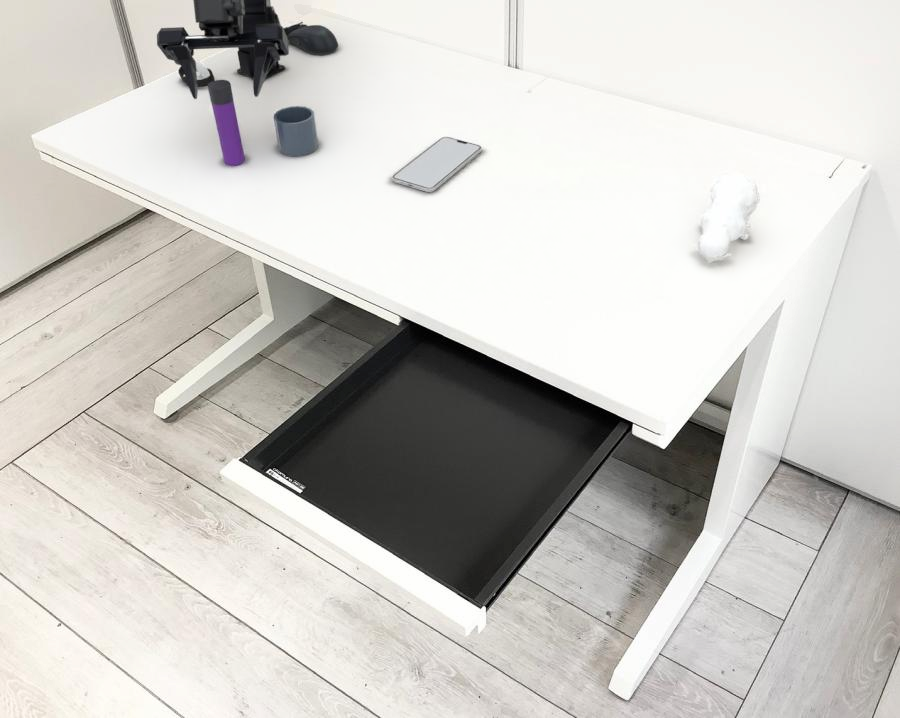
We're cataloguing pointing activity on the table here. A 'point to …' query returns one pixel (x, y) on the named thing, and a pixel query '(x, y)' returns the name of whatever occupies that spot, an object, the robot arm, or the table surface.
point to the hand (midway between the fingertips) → (225, 96)
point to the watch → (202, 70)
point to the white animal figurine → (727, 215)
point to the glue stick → (226, 122)
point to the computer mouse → (312, 38)
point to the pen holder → (296, 131)
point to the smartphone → (437, 164)
